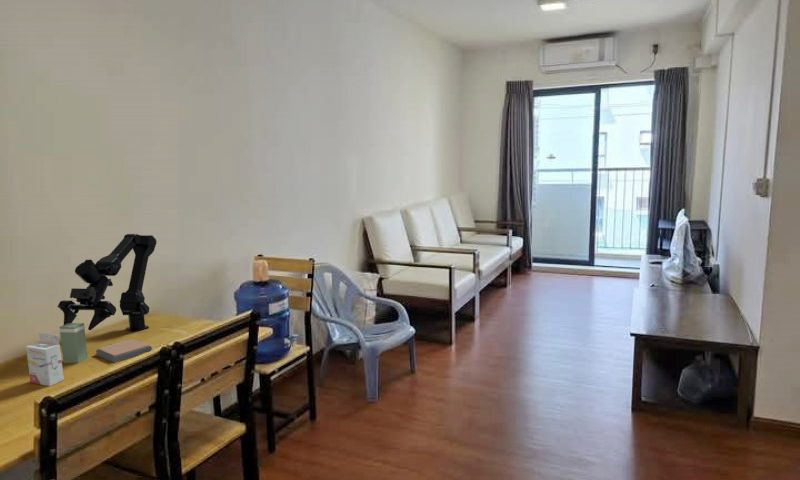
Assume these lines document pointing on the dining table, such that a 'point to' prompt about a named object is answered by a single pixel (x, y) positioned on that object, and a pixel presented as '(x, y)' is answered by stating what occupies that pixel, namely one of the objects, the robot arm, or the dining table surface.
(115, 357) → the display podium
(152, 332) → the dining table surface
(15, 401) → the dining table surface
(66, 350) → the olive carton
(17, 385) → the dining table surface
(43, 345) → the ink cartridge box
